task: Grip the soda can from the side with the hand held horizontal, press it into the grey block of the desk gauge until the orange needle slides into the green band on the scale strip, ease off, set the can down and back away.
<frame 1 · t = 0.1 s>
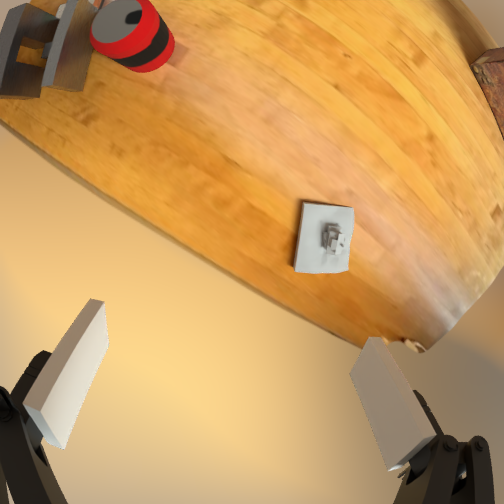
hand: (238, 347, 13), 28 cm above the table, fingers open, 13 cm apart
gauge bed: (62, 54, 28), on the table
grey block: (63, 35, 23), point 4 cm above the table, slide at 0.0 cm
grey flat angular piece: (326, 236, 42), on the table
soda can: (148, 49, 30), on the table
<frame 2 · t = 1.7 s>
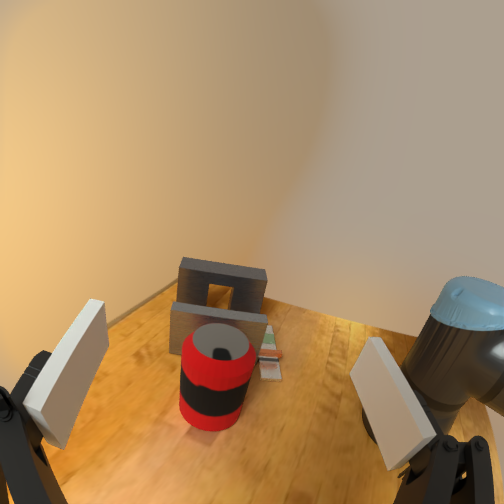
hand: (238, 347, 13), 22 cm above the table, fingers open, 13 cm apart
gauge bed: (214, 335, 46), on the table
grey block: (228, 326, 42), point 4 cm above the table, slide at 0.0 cm
soda can: (209, 409, 32), on the table
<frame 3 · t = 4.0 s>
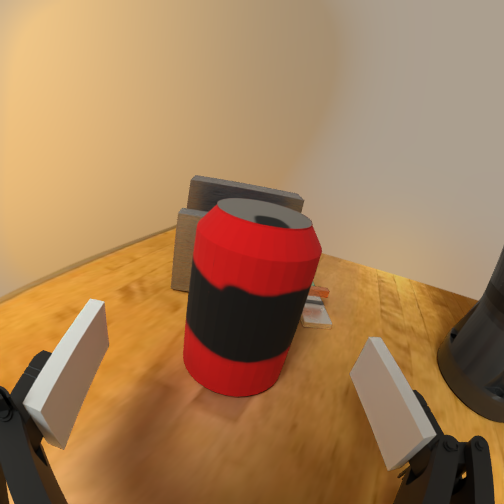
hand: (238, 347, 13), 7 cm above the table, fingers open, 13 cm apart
gauge bed: (233, 274, 35), on the table
grey block: (256, 252, 31), point 4 cm above the table, slide at 0.0 cm
soda can: (231, 364, 21), on the table
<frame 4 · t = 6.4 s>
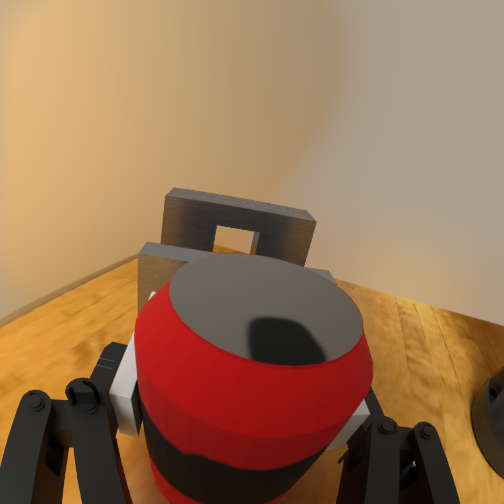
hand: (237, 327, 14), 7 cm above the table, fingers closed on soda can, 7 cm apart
gauge bed: (223, 319, 26), on the table
grey block: (253, 298, 23), point 4 cm above the table, slide at 0.0 cm
soda can: (218, 469, 13), on the table, touching gripper
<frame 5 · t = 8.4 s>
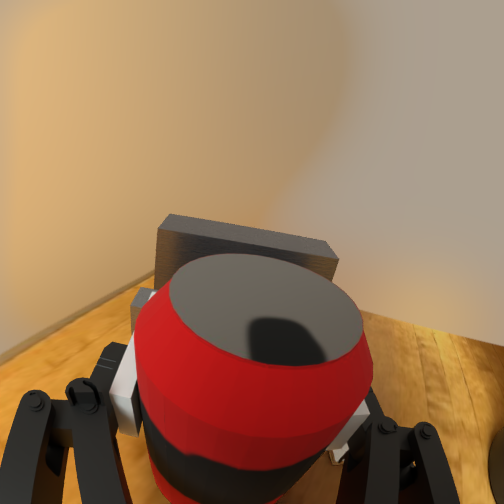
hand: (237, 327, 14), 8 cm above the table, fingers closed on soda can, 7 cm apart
gauge bed: (229, 370, 22), on the table
grey block: (263, 343, 20), point 4 cm above the table, slide at 1.5 cm, touching gripper
soda can: (218, 469, 13), point 1 cm above the table, touching gripper
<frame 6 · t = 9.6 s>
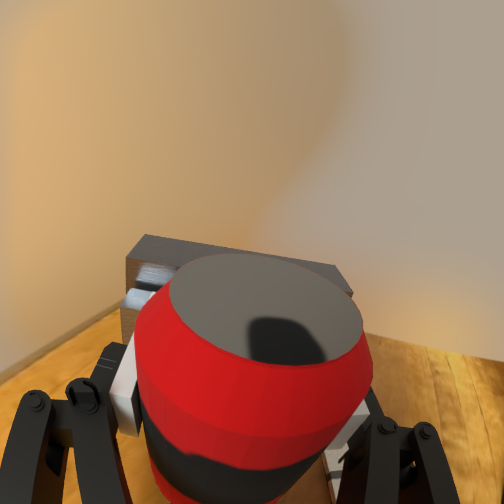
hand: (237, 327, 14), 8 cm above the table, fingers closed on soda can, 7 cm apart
gauge bed: (219, 420, 17), on the table
grey block: (254, 343, 20), point 4 cm above the table, slide at 6.5 cm
soda can: (218, 469, 13), point 1 cm above the table, touching gripper
when the fingers open (7 cm above the table, at t = 11.5 s): soda can stays where it is, on the table.
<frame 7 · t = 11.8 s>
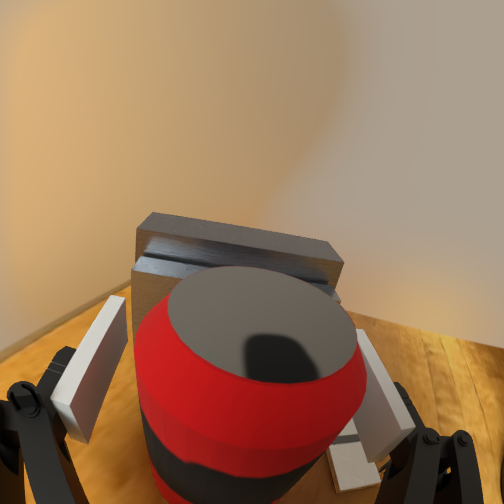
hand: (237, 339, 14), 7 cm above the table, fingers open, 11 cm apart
gauge bed: (220, 387, 19), on the table
grey block: (252, 313, 22), point 4 cm above the table, slide at 6.6 cm
soda can: (218, 472, 13), on the table
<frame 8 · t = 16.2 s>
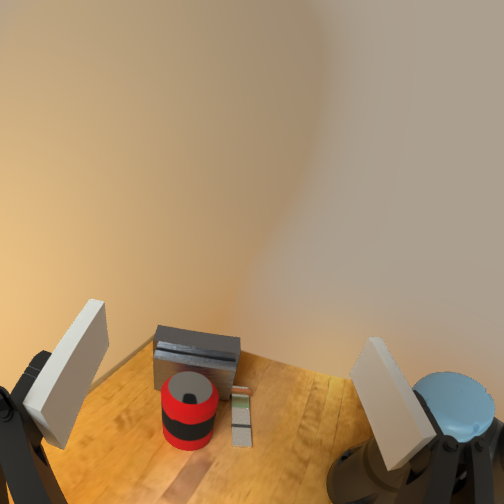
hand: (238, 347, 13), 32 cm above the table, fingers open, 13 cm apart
gauge bed: (190, 399, 44), on the table
grey block: (204, 368, 46), point 4 cm above the table, slide at 6.6 cm
soda can: (187, 432, 37), on the table
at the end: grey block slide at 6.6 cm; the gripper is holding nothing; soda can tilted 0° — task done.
